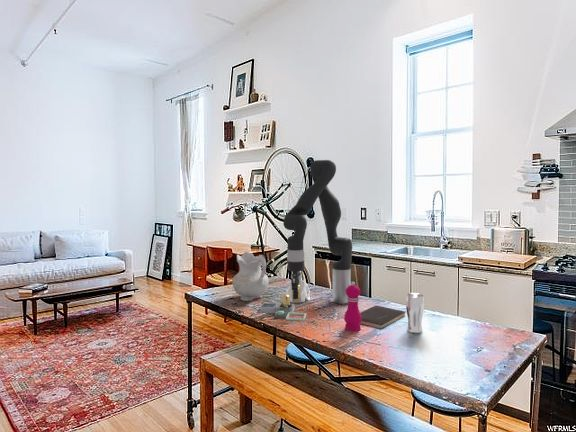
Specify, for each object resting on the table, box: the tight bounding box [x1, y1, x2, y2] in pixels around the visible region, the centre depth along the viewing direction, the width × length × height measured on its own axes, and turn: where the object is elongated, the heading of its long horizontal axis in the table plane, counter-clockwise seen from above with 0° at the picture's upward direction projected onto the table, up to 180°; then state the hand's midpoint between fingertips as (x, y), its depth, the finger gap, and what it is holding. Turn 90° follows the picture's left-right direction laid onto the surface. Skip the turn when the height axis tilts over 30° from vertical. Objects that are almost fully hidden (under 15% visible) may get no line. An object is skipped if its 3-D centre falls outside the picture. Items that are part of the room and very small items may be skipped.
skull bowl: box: [285, 279, 311, 304], centre depth 209 cm, size 10×14×12 cm
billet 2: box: [292, 285, 301, 303], centre depth 179 cm, size 4×4×7 cm
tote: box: [285, 312, 307, 322], centre depth 180 cm, size 8×8×2 cm
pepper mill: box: [343, 281, 362, 332], centre depth 167 cm, size 7×7×20 cm
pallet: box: [258, 302, 297, 314], centre depth 191 cm, size 16×10×3 cm, turn 81°
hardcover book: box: [359, 305, 407, 329], centre depth 182 cm, size 16×23×2 cm
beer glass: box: [405, 292, 425, 334], centre depth 164 cm, size 7×7×15 cm
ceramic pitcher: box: [231, 251, 270, 302], centre depth 214 cm, size 22×20×25 cm
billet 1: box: [280, 293, 291, 308], centre depth 190 cm, size 4×4×7 cm
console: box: [273, 312, 288, 320], centre depth 181 cm, size 5×5×2 cm
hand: (296, 297), depth 179 cm, fingers closed on billet 2, 4 cm apart
